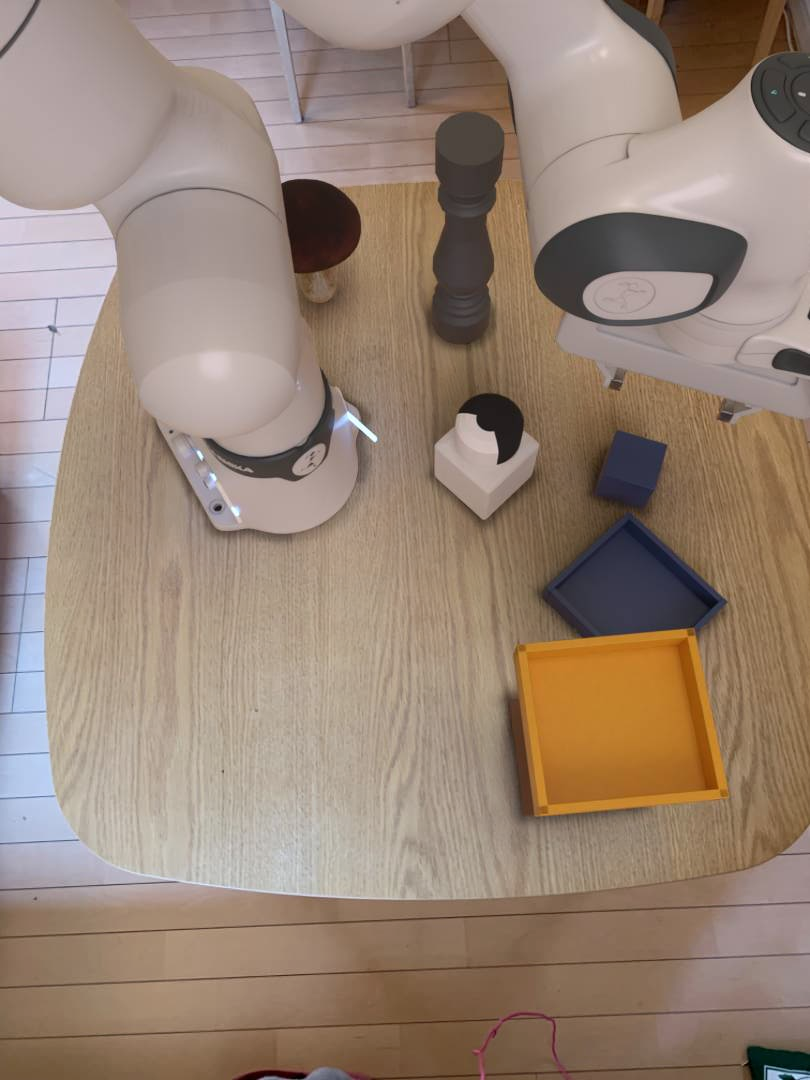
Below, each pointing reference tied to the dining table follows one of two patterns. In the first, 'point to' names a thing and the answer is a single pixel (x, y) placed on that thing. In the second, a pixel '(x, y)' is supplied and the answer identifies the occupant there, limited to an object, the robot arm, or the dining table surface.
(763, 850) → the dining table surface
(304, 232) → the decorative mushroom
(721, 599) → the navy tray
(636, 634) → the ochre tray
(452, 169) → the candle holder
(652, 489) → the navy block
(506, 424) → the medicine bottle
